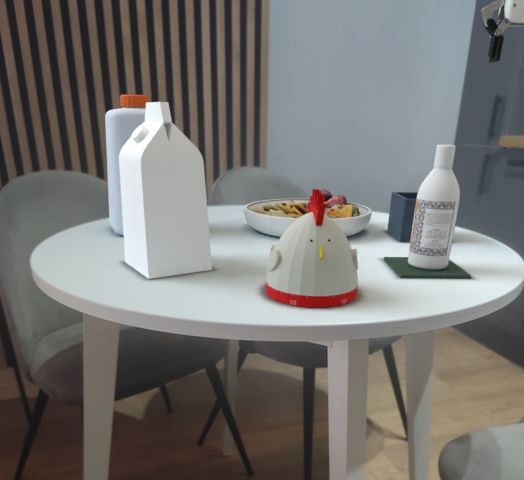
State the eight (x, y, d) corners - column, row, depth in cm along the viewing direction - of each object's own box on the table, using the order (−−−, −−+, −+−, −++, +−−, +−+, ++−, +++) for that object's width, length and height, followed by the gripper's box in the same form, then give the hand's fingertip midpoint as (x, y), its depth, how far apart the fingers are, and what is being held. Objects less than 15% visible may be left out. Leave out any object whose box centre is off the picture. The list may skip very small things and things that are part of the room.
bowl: (354, 248, 102) (358, 209, 99) (222, 235, 112) (222, 199, 108) (379, 223, 127) (383, 191, 124) (270, 214, 137) (271, 184, 134)
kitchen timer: (270, 308, 69) (273, 196, 63) (261, 279, 81) (262, 183, 75) (368, 306, 70) (380, 196, 64) (344, 278, 83) (352, 184, 76)
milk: (212, 269, 86) (207, 102, 75) (148, 279, 81) (133, 100, 70) (183, 254, 95) (176, 103, 84) (125, 262, 90) (108, 101, 79)
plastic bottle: (184, 234, 112) (177, 95, 100) (116, 238, 107) (100, 92, 95) (170, 222, 125) (163, 97, 113) (108, 225, 120) (93, 95, 108)
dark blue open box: (434, 231, 119) (440, 192, 115) (451, 242, 109) (459, 199, 105) (387, 231, 119) (391, 192, 115) (399, 241, 108) (405, 199, 105)
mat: (445, 260, 95) (446, 257, 94) (470, 278, 84) (471, 275, 84) (383, 259, 94) (383, 256, 94) (400, 277, 84) (400, 274, 83)
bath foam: (416, 258, 93) (433, 143, 85) (453, 265, 89) (475, 145, 81) (400, 265, 88) (417, 144, 80) (439, 273, 85) (460, 146, 76)
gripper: (503, -60, 82) (482, 59, 90) (605, -58, 83) (576, 61, 90) (483, -47, 89) (466, 63, 96) (578, -44, 90) (553, 65, 97)
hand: (519, 62), depth 93 cm, fingers open, 9 cm apart
